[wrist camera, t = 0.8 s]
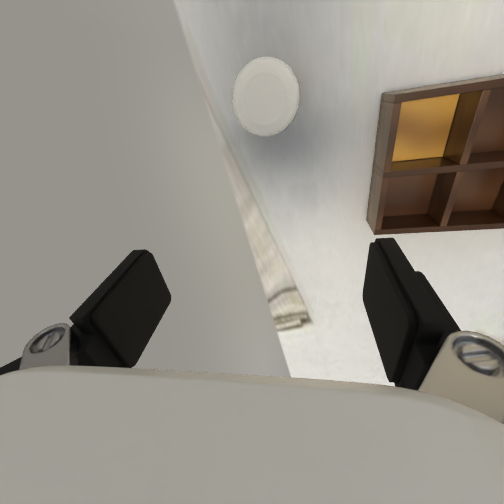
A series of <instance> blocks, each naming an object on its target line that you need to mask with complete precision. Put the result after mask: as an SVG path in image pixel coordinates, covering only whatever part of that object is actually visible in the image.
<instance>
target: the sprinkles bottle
mask: <svg viewBox="0 0 504 504" xmlns="http://www.w3.org/2000/svg"><path fill="white" fill-rule="evenodd" d="M299 99H300V91H299V85H298V81H297V78H296V76H295V74H294V73H293V71H292V70H291V68H290V67H289V66H288V65H287V64H286V63H284V62H283V61H281V60H279V59H277V58H274V57H259V58H256V59H254V60H252V61H250V62H249V63H248V64H246V65H245V66H244V67H243V68H242V70H241V71H240V72H239V74H238V76H237V78H236V80H235V83H234V86H233V91H232V104H233V109H234V112H235V115H236V117H237V119H238V121H239V122H240V124H241V125H242V126H243V127H244V128H245V129H246V130H247V131H249V132H250V133H252V134H255V135H258V136H272V135H275V134H278V133H280V132H281V131H283V130H284V129H285V128H286V127H287V126H288V125H289V124H290V123H291V122H292V120H293V118H294V117H295V114H296V112H297V109H298V106H299Z"/></svg>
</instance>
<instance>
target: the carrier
mask: <svg viewBox="0 0 504 504" xmlns="http://www.w3.org/2000/svg"><path fill="white" fill-rule="evenodd" d="M366 220H367V222H368V224H369V226H370V228H371V230H372V232H373V234H374V235H382V234H401V233H421V232H441V231H461V230H481V229H501V228H504V74H502V75H495V76H489V77H482V78H476V79H469V80H463V81H456V82H450V83H443V84H437V85H430V86H424V87H417V88H411V89H404V90H398V91H391V92H385V93H382V99H381V107H380V115H379V123H378V131H377V139H376V147H375V155H374V163H373V171H372V179H371V187H370V195H369V203H368V211H367V219H366Z"/></svg>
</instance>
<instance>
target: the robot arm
mask: <svg viewBox="0 0 504 504" xmlns="http://www.w3.org/2000/svg"><path fill="white" fill-rule="evenodd" d="M170 301H171V294H170V292H169V290H168V288H167V285H166V283H165V281H164V279H163V277H162V274H161V272H160V270H159V268H158V265H157V263H156V261H155V259H154V256H153V255H152V253H150V252H149V251H147V250H133V251H132V252H131V253H130V254H129V255H128V256H127V257H126V258H125V259H124V260H123V261H122V263H120V265H119V266H118V267H117V268H116V269H115V270H114V271H113V272H112V273H111V274H110V275H109V276H108V277H107V278H106V279H105V280H104V281H103V283H102V284H101V285H100V286H99V287H98V288H97V289H96V290H95V291H94V292H93V293H92V294H91V295H90V296H89V297H88V298H87V300H86V301H85V302H84V303H83V304H82V305H81V306H80V307H79V308H78V309H77V310H76V311H75V312H74V313H73V314H72V315H71V316H70V320H71V321H72V322H73V323H74V324H73V325H72V327H70V326H69V325H67V324H65V323H59V324H55V325H52V326H50V327H47V328H46V329H44V330H42V331H40V332H39V333H38V334H36V335H35V336H34V337H33V338H32V339H31V340H30V341H29V342H28V343H27V345H26V346H25V348H24V351H23V355H22V357H21V358H18V359H16V360H15V361H13V362H11V363H9V364H7V365H5V366H3V367H1V368H0V504H504V345H502V344H501V343H500V342H498V341H496V340H494V339H492V338H490V337H488V336H486V335H483V334H480V333H477V332H471V331H461V330H460V328H459V327H458V325H457V324H456V322H455V321H454V319H453V318H452V316H451V315H450V313H449V312H448V310H447V309H446V307H445V306H444V304H443V303H442V301H441V300H440V298H439V297H438V295H437V294H436V292H435V291H434V289H433V288H432V286H431V285H430V283H429V282H428V280H427V279H426V277H425V276H424V275H423V274H422V273H421V272H419V271H414V269H413V267H412V266H411V264H410V263H409V261H408V260H407V258H406V256H405V255H404V253H403V252H402V250H401V249H400V247H399V245H398V244H397V242H396V241H395V239H394V238H378V239H376V240H375V242H372V243H370V247H369V253H368V260H367V267H366V274H365V281H364V288H363V302H364V305H365V309H366V312H367V315H368V318H369V321H370V324H371V328H372V331H373V334H374V337H375V340H376V344H377V347H378V350H379V353H380V356H381V359H382V363H383V366H384V369H385V372H386V375H387V378H388V380H389V382H394V383H395V386H396V387H394V386H386V385H378V384H370V383H358V382H345V381H333V380H320V379H305V378H290V377H274V376H258V375H243V374H226V373H208V372H192V371H175V370H156V369H137V368H132V367H133V366H135V365H136V363H137V361H138V360H139V358H140V356H141V354H142V352H143V351H144V349H145V347H146V345H147V343H148V342H149V340H150V338H151V336H152V334H153V333H154V331H155V329H156V327H157V325H158V324H159V322H160V320H161V318H162V316H163V314H164V313H165V311H166V309H167V307H168V306H169V304H170Z"/></svg>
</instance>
